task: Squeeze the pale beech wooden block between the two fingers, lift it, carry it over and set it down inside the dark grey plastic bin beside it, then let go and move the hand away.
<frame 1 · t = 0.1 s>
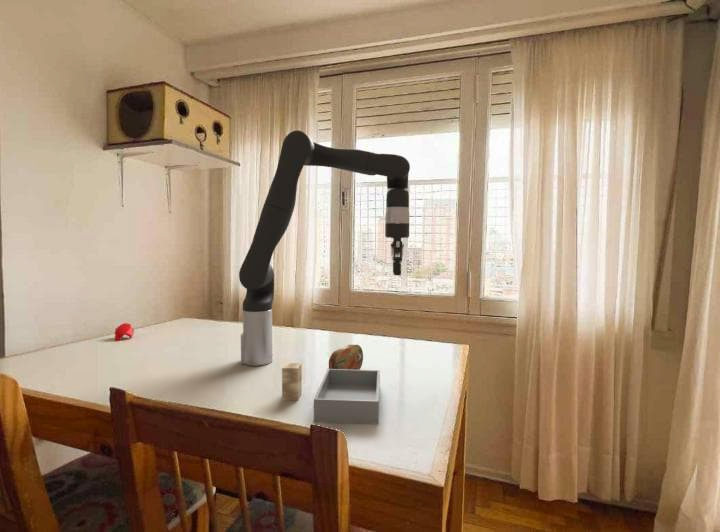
hand: (396, 274, 119), 29 cm above the table, tool pointing down, fingers open, 8 cm apart
bin: (350, 403, 91), on the table
cap: (123, 339, 152), on the table
tin: (346, 375, 111), on the table
wooden block: (292, 396, 95), on the table
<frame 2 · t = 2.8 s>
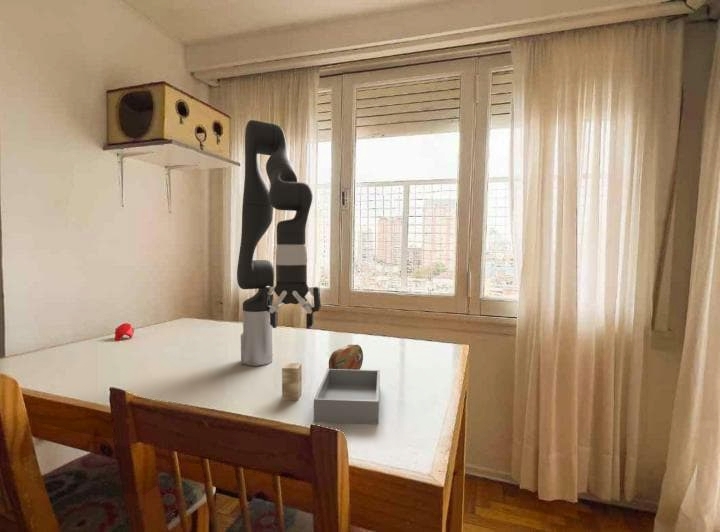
hand: (291, 327, 94), 18 cm above the table, tool pointing down, fingers open, 8 cm apart
nothing on the table moved.
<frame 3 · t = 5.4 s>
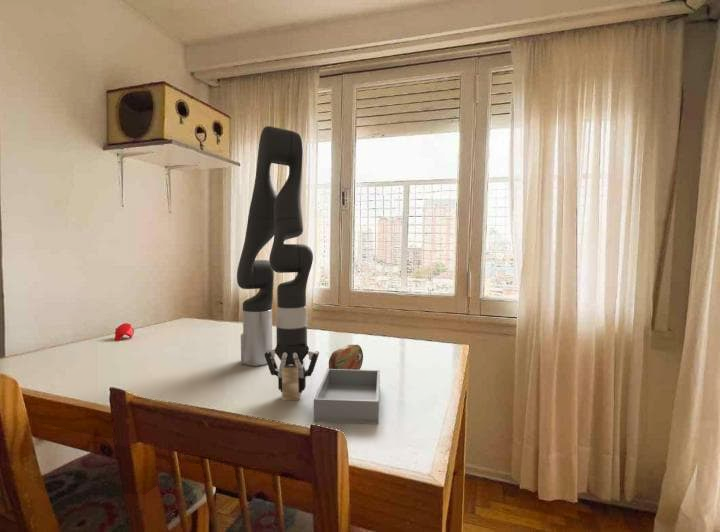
hand: (292, 391, 95), 1 cm above the table, tool pointing down, fingers closed on wooden block, 4 cm apart
wooden block: (292, 396, 95), on the table, touching gripper
everything else where it was.
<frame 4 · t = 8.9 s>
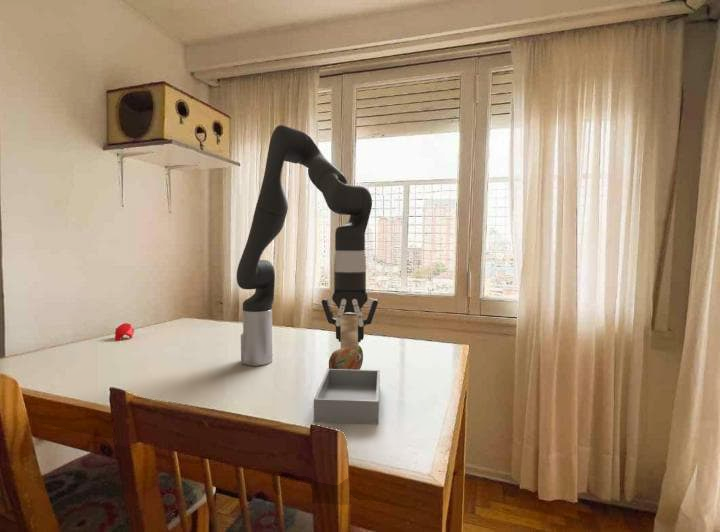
hand: (350, 340, 90), 15 cm above the table, tool pointing down, fingers closed on wooden block, 4 cm apart
wooden block: (349, 347, 90), point 14 cm above the table, touching gripper
everything else where it was.
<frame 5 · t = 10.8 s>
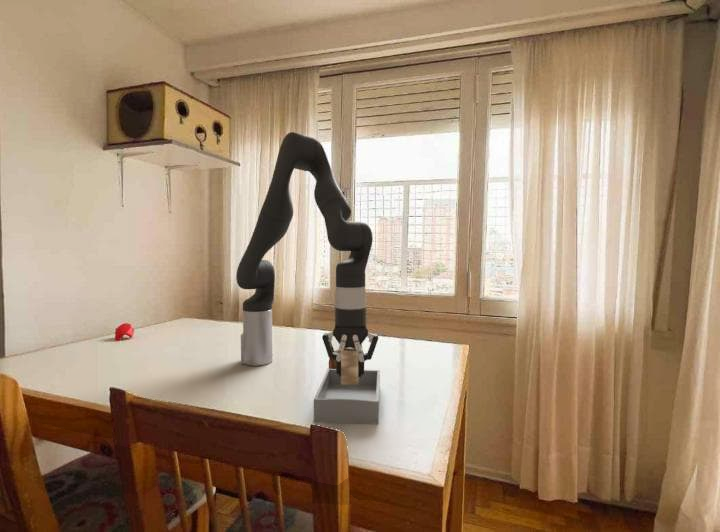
hand: (350, 375, 91), 7 cm above the table, tool pointing down, fingers closed on wooden block, 4 cm apart
wooden block: (350, 381, 91), point 5 cm above the table, touching gripper
everything else where it was.
when the fingers open (4 cm above the table, at t = 12.3 s): wooden block drops 1 cm, resting on bin.
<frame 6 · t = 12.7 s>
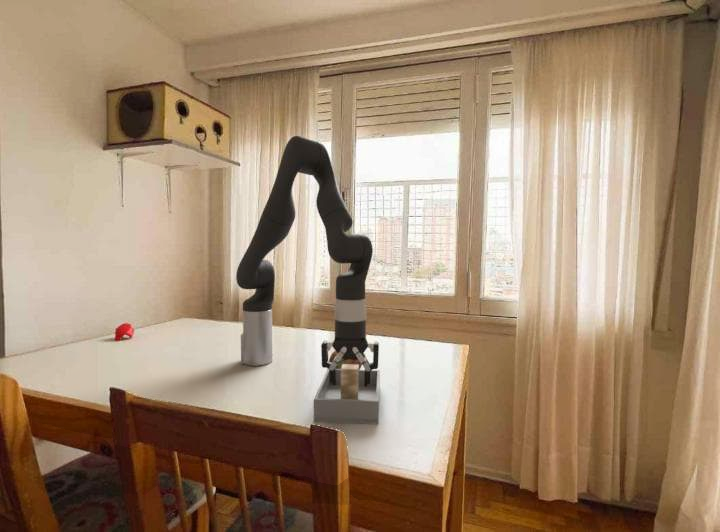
hand: (350, 384, 91), 5 cm above the table, tool pointing down, fingers open, 7 cm apart
wooden block: (349, 399, 91), point 1 cm above the table, touching bin
everything else where it was.
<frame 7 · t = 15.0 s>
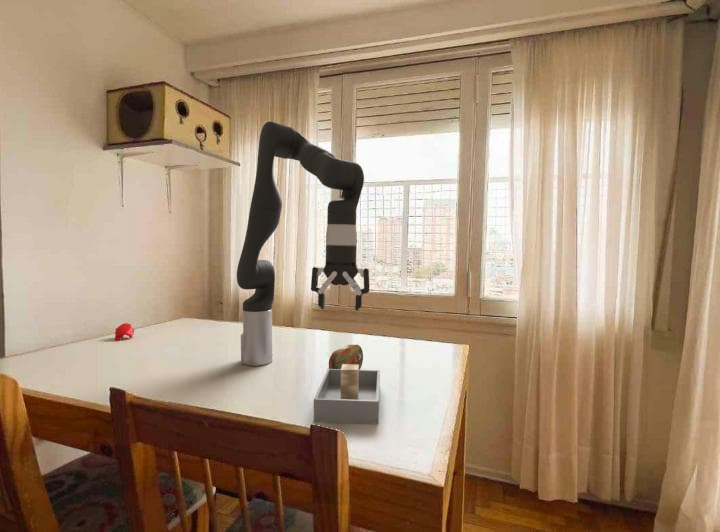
hand: (339, 309, 93), 22 cm above the table, tool pointing down, fingers open, 8 cm apart
nothing on the table moved.
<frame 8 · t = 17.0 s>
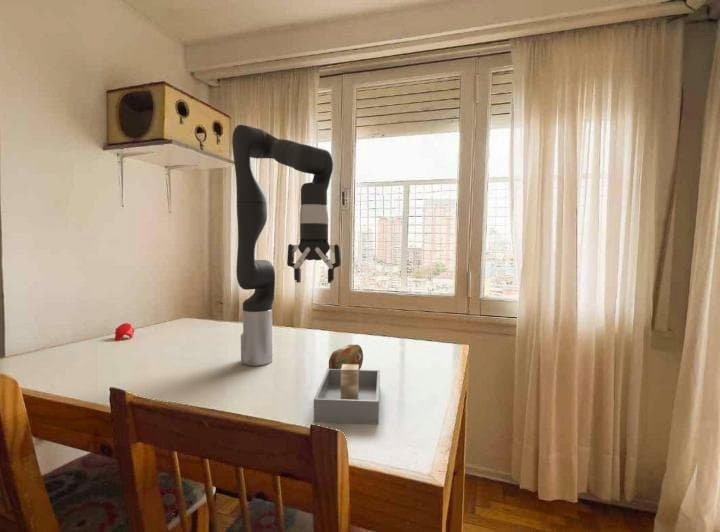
hand: (314, 282, 102), 28 cm above the table, tool pointing down, fingers open, 8 cm apart
nothing on the table moved.
at the end: wooden block inside the target area on the bin (0.1 cm from its centre), point 1.0 cm above the bin's base; the gripper is holding nothing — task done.
